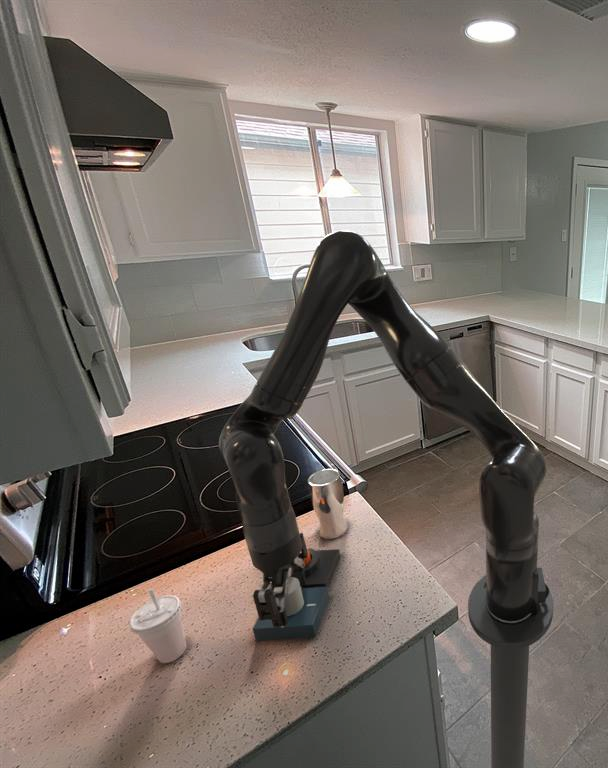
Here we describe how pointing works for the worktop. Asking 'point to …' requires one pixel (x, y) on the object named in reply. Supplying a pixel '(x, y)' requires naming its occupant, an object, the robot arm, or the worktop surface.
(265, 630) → the knob panel
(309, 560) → the button
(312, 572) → the orange push button panel
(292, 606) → the dial
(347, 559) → the worktop surface
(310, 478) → the silver metal cup
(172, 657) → the smoothie
